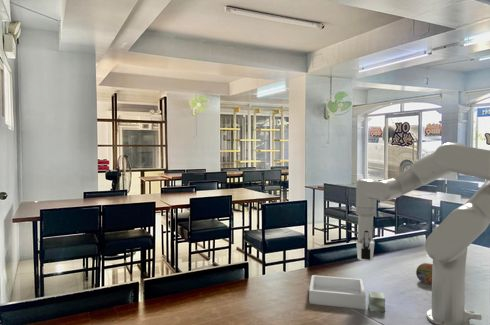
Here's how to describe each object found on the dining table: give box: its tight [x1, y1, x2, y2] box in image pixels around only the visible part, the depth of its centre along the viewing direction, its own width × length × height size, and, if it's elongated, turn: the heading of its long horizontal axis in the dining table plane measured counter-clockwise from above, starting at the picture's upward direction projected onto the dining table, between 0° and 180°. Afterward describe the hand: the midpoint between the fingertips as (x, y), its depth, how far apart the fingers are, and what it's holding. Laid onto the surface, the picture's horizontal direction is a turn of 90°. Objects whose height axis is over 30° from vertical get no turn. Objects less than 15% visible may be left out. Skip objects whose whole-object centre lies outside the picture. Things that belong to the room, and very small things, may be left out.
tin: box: [415, 262, 433, 285], centre depth 147 cm, size 15×3×8 cm, turn 62°
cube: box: [368, 291, 386, 313], centre depth 125 cm, size 5×5×5 cm
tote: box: [308, 274, 367, 310], centre depth 135 cm, size 20×16×5 cm
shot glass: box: [355, 239, 375, 262], centre depth 135 cm, size 7×7×7 cm
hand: (365, 255), depth 135 cm, fingers closed on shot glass, 6 cm apart
